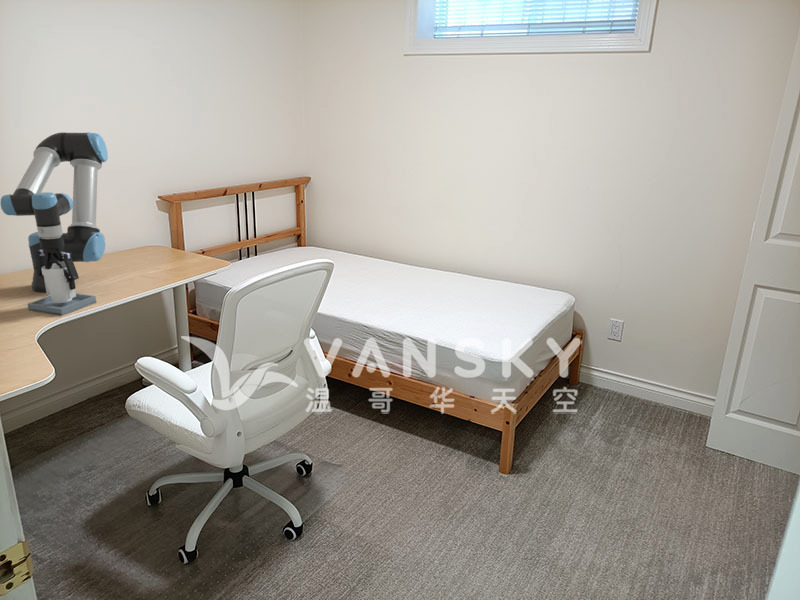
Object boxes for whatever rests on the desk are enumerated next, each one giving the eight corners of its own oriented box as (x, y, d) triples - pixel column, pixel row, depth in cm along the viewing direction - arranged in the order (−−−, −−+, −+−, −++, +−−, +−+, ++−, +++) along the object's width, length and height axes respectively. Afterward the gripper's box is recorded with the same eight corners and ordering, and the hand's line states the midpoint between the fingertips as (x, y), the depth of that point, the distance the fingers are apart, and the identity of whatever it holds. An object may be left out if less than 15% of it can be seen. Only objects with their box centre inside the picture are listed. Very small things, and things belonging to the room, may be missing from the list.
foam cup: (57, 295, 221) (51, 262, 217) (81, 296, 221) (76, 263, 217) (42, 303, 212) (35, 269, 208) (67, 304, 212) (61, 270, 208)
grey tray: (28, 310, 213) (27, 303, 212) (64, 297, 227) (63, 291, 226) (62, 315, 208) (61, 308, 207) (96, 302, 222) (95, 295, 221)
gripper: (18, 236, 209) (29, 295, 216) (66, 241, 202) (77, 302, 209) (36, 232, 215) (47, 289, 223) (83, 237, 209) (93, 296, 216)
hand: (61, 296), depth 216 cm, fingers closed on foam cup, 9 cm apart
